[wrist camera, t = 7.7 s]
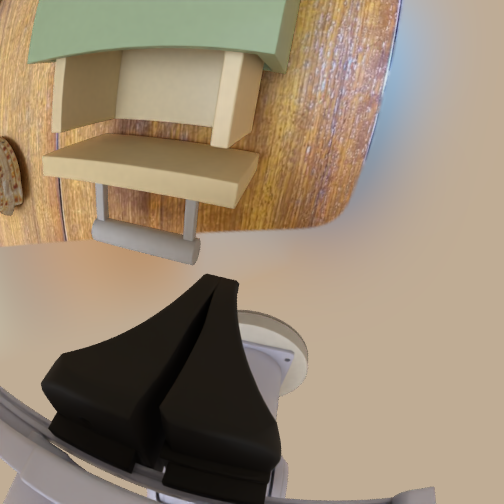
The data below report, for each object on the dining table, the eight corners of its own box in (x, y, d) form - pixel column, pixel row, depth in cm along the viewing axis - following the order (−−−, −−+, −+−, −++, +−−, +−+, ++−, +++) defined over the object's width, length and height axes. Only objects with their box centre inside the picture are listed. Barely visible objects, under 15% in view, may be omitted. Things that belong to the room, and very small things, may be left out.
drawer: (244, 238, 21) (221, 298, 15) (106, 208, 22) (53, 250, 16) (291, -10, 12) (285, -60, 6) (126, -9, 13) (65, -32, 7)
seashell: (16, 233, 23) (-36, 214, 19) (35, 203, 27) (-14, 188, 24) (21, 163, 19) (-37, 146, 15) (44, 140, 23) (-10, 126, 19)
